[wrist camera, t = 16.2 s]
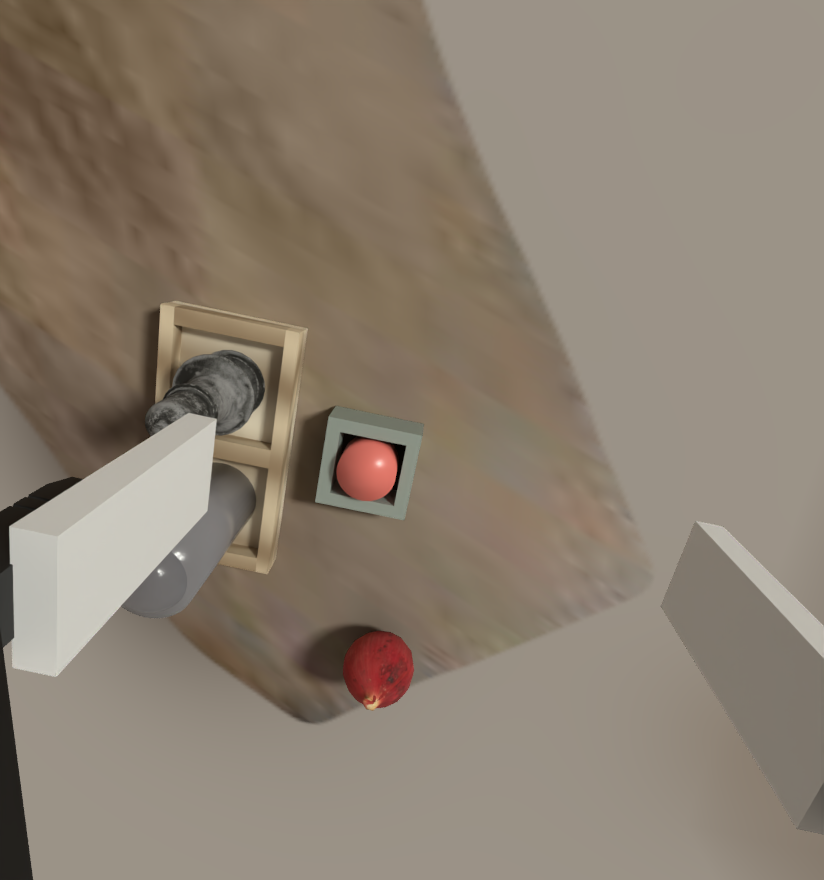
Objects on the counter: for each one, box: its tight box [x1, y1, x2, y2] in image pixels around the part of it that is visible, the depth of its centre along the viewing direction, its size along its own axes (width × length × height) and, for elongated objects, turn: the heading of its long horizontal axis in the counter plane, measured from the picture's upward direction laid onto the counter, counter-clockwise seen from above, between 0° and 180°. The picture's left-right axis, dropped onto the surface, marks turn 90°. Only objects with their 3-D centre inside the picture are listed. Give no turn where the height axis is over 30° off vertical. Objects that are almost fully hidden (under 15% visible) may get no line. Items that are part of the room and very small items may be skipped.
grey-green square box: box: [315, 406, 424, 520], centre depth 44 cm, size 7×7×3 cm
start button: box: [336, 436, 399, 501], centre depth 44 cm, size 4×4×3 cm
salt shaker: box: [145, 350, 265, 436], centre depth 38 cm, size 6×6×12 cm
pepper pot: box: [121, 462, 256, 618], centre depth 40 cm, size 6×6×14 cm
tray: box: [155, 301, 308, 574], centre depth 45 cm, size 20×10×2 cm, turn 169°
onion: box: [343, 631, 414, 711], centre depth 48 cm, size 6×6×8 cm
